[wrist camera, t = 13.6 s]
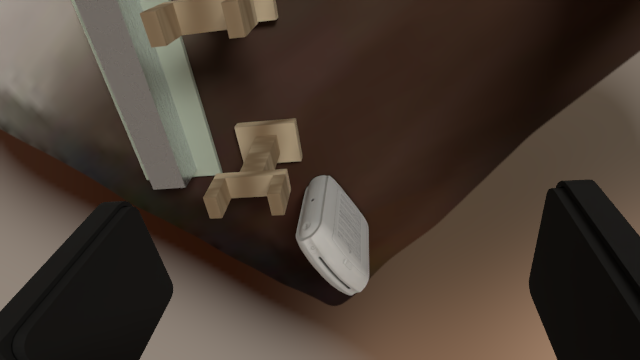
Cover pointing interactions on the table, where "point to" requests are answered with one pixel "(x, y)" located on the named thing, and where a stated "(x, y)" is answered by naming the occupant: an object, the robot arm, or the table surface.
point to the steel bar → (140, 89)
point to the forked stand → (253, 137)
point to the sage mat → (177, 100)
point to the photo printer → (334, 235)
